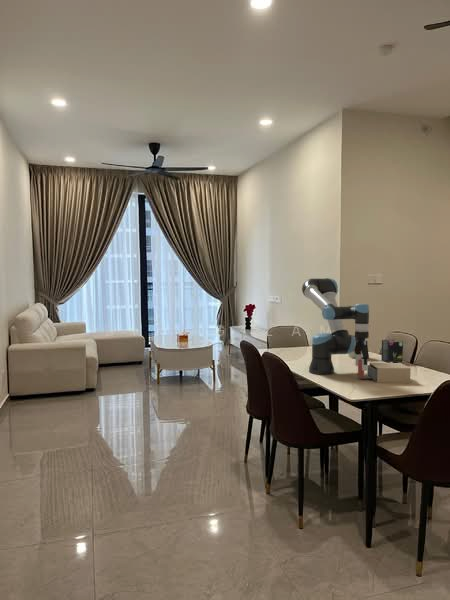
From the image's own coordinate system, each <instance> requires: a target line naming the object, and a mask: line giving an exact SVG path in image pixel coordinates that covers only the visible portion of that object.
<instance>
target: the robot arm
mask: <svg viewBox="0 0 450 600" xmlns="http://www.w3.org/2000/svg"><path fill="white" fill-rule="evenodd" d="M338 288H339V286H338V283H337V281H336V280H335V279H334V278H327V277H326V278H315V277H314V278H309V279H307V280H306V281H304V282H303V284H302V286H301V291H302V294H303V296H304V297H305V298H306V299H309V300H311V302H312V303H313V304H314V305H316V307H317V308H318V309H319V310H321V315H322V318H323V319H324V320H327V323H328V326H329V330H330V332H328V333H327V332H324V333H317V334H315V335H313V336H312V340H311V361H310V363H309V366H308V367H309V368H308V371H309V373H311V374H314V375H332V374H334V373H335V368H334V364H333V362H332V361H333V360H332V356H333V355H348V354H349V353H352V352H353V350H354V348H355V351H354V352H355V354H356V358H355V366H357V367H358V360H362V371H364V372H366V371H368V365H369V364H368V361H369V360H368V359H370V355H369V347H368V346H369V345H368V340H366V339H369V334H370V333H369V329H370V308H369V307H370V306H369V304H368V303H355V306H353V305H347V306H338V303H337V301H336V300H337V299H336V297H337V294H338V291H339V289H338ZM343 320H354V335H353V334H349V333H350V332H349V331H348V330H349V329H345V327H344V323H343ZM354 336H355V338H356V345H355V338H354ZM361 351H362V357H361V355H359V354H361Z"/></svg>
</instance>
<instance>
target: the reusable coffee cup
mask: <svg viewBox="0 0 450 600" xmlns="http://www.w3.org/2000/svg"><path fill="white" fill-rule="evenodd" d="M353 336H354V338H355V335H353ZM355 345H356V338H355ZM354 351H355V348H354V350H353V352H352V353H349V354H347V355H348V358H350V357H351V358H350V359H356V354H355V352H354ZM359 355H361V358H362V357H363V356H362V351H361V354H359Z"/></svg>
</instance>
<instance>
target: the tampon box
mask: <svg viewBox="0 0 450 600" xmlns="http://www.w3.org/2000/svg"><path fill="white" fill-rule="evenodd" d="M403 351H404V341H402V340H398V339H381V357H380V359H381V361H382V362H384V363H388V362H389V363H391V362H398V363H403V355H404V354H403V353H404V352H403Z"/></svg>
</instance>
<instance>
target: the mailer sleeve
mask: <svg viewBox="0 0 450 600" xmlns="http://www.w3.org/2000/svg"><path fill="white" fill-rule="evenodd" d="M369 365H373V366H374V367H376V368H377V380H374V381H375V382H376V383H411V369H412V368H411V367H409V366H407V365H406V364H403V362H398V363H388V362H369Z"/></svg>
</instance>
